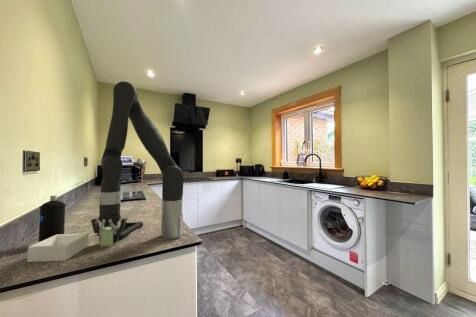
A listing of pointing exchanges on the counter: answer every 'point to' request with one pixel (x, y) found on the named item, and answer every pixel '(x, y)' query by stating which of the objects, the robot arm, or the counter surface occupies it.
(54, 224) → the aerosol can
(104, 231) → the green block
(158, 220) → the counter surface
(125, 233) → the door handle
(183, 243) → the counter surface
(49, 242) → the white bin
